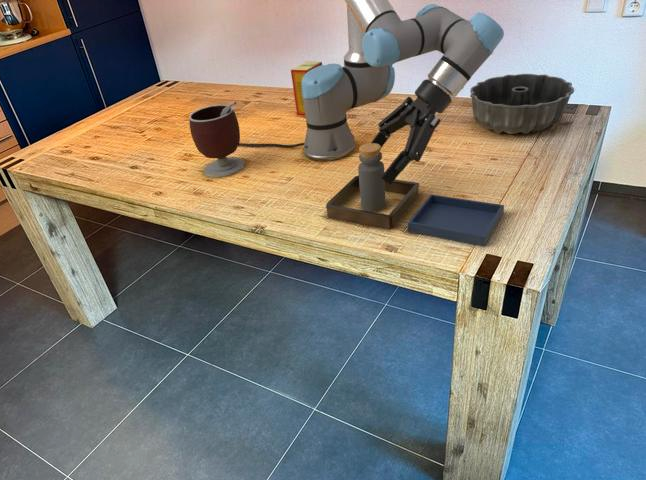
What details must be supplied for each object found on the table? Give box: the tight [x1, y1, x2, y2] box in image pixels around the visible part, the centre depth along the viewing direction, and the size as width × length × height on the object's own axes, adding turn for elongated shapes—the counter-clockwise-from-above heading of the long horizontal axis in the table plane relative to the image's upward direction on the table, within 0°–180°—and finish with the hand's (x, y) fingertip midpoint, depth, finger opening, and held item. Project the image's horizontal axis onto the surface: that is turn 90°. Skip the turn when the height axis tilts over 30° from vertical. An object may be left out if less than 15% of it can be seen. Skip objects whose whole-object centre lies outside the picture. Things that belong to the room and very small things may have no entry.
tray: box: [407, 193, 505, 247], centre depth 109 cm, size 16×13×2 cm
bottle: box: [357, 142, 387, 213], centre depth 116 cm, size 6×6×15 cm
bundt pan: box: [469, 73, 575, 135], centre depth 143 cm, size 26×26×10 cm
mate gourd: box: [188, 101, 245, 178], centre depth 147 cm, size 16×14×20 cm
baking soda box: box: [290, 61, 323, 117], centre depth 177 cm, size 10×6×16 cm
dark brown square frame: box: [325, 174, 420, 230], centre depth 120 cm, size 17×17×3 cm
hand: (375, 168), depth 115 cm, fingers open, 13 cm apart
